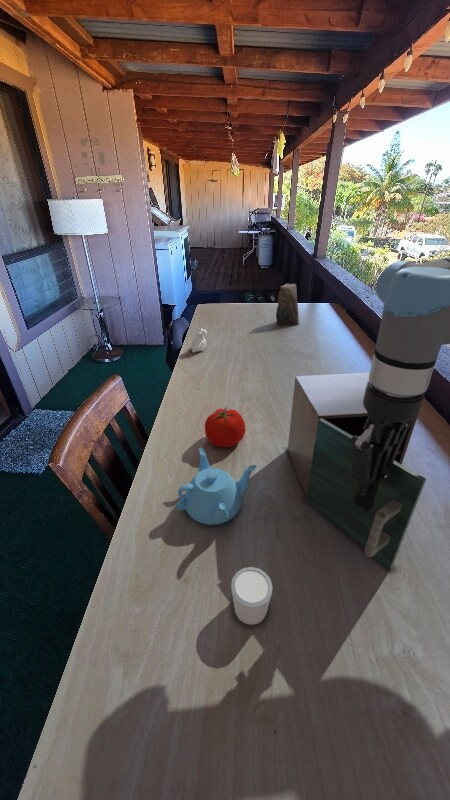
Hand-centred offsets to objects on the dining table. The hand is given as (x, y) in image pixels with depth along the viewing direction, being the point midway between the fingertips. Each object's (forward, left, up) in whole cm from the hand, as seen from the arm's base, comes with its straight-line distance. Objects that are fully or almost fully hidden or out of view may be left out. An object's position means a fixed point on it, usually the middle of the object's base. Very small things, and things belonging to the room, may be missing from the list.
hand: (362, 504), depth 61 cm
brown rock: (-24, -144, -16) cm, 147 cm away
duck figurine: (+25, -110, -8) cm, 113 cm away
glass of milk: (+21, +7, -16) cm, 27 cm away
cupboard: (-7, -26, -16) cm, 31 cm away
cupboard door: (+1, -5, -16) cm, 17 cm away
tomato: (+21, -41, -16) cm, 48 cm away
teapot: (+25, -17, -16) cm, 34 cm away
